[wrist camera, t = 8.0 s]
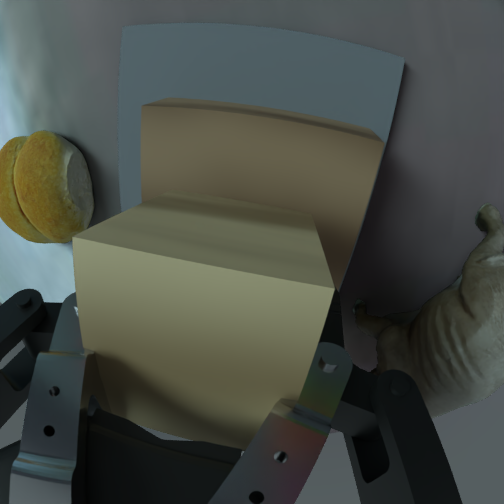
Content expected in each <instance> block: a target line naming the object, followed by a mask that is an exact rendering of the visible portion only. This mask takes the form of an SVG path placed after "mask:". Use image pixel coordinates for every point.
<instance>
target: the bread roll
mask: <svg viewBox="0 0 504 504" xmlns="http://www.w3.org/2000/svg"><path fill="white" fill-rule="evenodd" d="M93 210H94V198H93V192H92V182H91V178H90V173H89V170H88V167H87V164H86V161H85V158H84V156H83V154H82V153H81V152H80V150H79V149H78V148H77V147H75V146H74V145H73V144H71V143H70V142H68V141H67V140H66V139H64V138H63V137H62V136H60V135H59V134H56V133H53V132H50V131H38V132H35V133H33V134H32V135H30V136H20V137H15V138H13V139H11V140H9V141H8V142H7V143H6V144H5V145H4V146H3V148H2V149H1V151H0V217H1V219H2V220H3V221H4V223H5V224H6V225H7V226H8V227H9V228H10V229H12V230H13V231H14V232H16V233H17V234H19V235H20V236H21V237H23V238H25V239H26V240H28V241H32V242H36V243H67V242H69V241H71V240H72V237H73V236H75V235H77V234H79V233H80V232H82V231H84V230H86V229H87V228H88V226H89V223H90V221H91V218H92V214H93Z"/></svg>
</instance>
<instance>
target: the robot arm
mask: <svg viewBox="0 0 504 504" xmlns="http://www.w3.org/2000/svg"><path fill="white" fill-rule="evenodd" d="M334 287H335V286H334ZM21 340H22V341H23V343H24V345H25V348H23V349H22V350H21V351H20V352H19V353H18V354H17V355H16V356H15V357H14V358H13V359H12V360H11V361H10V362H9V363H8V364H7V365H6V366H5V367H4V368H3V369H1V370H0V428H1V427H2V426H3V425H4V424H5V423H6V422H7V420H8V419H9V418H10V417H11V416H12V415H13V414H14V413H15V412H16V410H17V409H18V408H19V407H20V406H21V405H22V404H23V403H24V402H25V401H26V400H27V399H28V400H27V405H26V411H25V417H24V423H23V430H22V437H21V440H19V441H17V442H14V443H12V444H10V445H8V446H6V447H4V448H2V449H0V504H294V503H295V501H296V499H297V498H298V496H299V494H300V492H301V490H302V488H303V486H304V485H305V483H306V481H307V479H308V477H309V475H310V473H311V471H312V469H313V467H314V465H315V463H316V461H317V459H318V456H319V454H320V452H321V450H322V448H323V446H324V444H325V442H326V439H327V437H328V435H329V433H330V430H331V428H333V429H335V430H338V431H340V432H343V434H344V438H345V442H346V446H347V450H348V454H349V457H350V461H351V465H352V468H353V473H354V477H355V481H356V485H357V489H358V493H359V497H360V501H361V504H462V501H461V498H460V495H459V492H458V489H457V486H456V483H455V480H454V477H453V474H452V471H451V468H450V465H449V463H448V460H447V457H446V455H445V452H444V449H443V447H442V444H441V441H440V439H439V436H438V434H437V431H436V429H435V426H434V424H433V421H432V419H431V416H430V414H429V412H428V409H427V407H426V404H425V402H424V400H423V398H422V395H421V393H420V391H419V388H418V386H417V384H416V382H415V381H414V379H413V378H412V377H411V376H410V375H408V374H407V373H405V372H403V371H400V370H395V369H391V370H387V371H384V372H383V373H382V374H381V375H380V376H377V375H375V374H372V373H370V372H367V371H365V370H363V369H360V368H359V367H357V366H356V365H354V364H353V363H352V359H351V357H350V355H349V354H348V352H347V351H346V350H345V349H344V340H343V328H342V316H341V306H340V296H339V292H338V290H337V289H336V287H335V290H334V293H333V297H332V300H331V304H330V307H329V310H328V314H327V317H326V320H325V323H324V327H323V330H322V333H321V336H320V339H319V342H318V345H317V348H316V351H315V354H314V357H313V360H312V363H311V366H310V369H309V372H308V375H307V377H306V380H305V383H304V386H303V388H302V391H301V394H300V397H299V399H298V400H290V399H284V398H280V400H279V401H277V402H276V403H275V405H274V406H273V408H272V409H271V411H270V413H269V414H268V416H267V418H266V419H265V421H264V422H263V424H262V425H261V427H260V429H259V430H258V432H257V433H256V435H255V436H254V438H253V439H252V441H251V443H250V444H249V446H248V447H247V449H246V450H245V452H244V453H243V455H242V456H241V452H242V449H239V448H234V447H229V446H224V445H219V444H214V443H210V442H205V441H177V440H163V439H160V438H158V437H156V436H155V435H153V434H151V433H149V432H148V431H146V430H145V429H143V428H141V427H140V426H138V425H136V424H135V423H133V422H132V421H130V420H129V419H126V418H123V417H120V416H117V415H115V414H112V412H111V409H110V406H109V402H108V399H107V396H106V393H105V389H104V386H103V382H102V380H101V377H100V374H99V368H98V364H97V360H96V356H95V352H94V351H92V350H89V349H86V348H84V347H83V343H82V336H81V330H80V323H79V315H78V307H77V298H76V292H75V293H72V294H71V295H69V296H68V297H67V298H66V299H65V300H64V302H63V303H50V302H44V301H43V298H42V296H41V294H40V292H38V291H37V290H34V289H24V290H21V291H19V292H17V293H16V294H14V295H13V296H12V297H10V298H9V299H8V300H7V301H6V302H4V303H3V304H2V305H1V306H0V361H1V360H2V358H3V357H4V356H5V355H6V354H7V353H8V352H9V351H10V350H11V349H13V348H14V347H15V346H16V345H17V344H18V343H19V342H20V341H21Z"/></svg>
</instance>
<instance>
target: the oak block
mask: <svg viewBox="0 0 504 504" xmlns="http://www.w3.org/2000/svg"><path fill="white" fill-rule="evenodd" d="M72 241H73V262H74V276H75V288H76V298H77V307H78V315H79V323H80V330H81V336H82V343H83V347H84V348H86V349H89V350H92V351H94V352H95V356H96V360H97V364H98V368H99V374H100V377H101V380H102V382H103V386H104V389H105V393H106V396H107V399H108V402H109V406H110V409H111V412H112V414H115V415H117V416H120V417H123V418H126V419H129V420H130V421H132V422H133V423H135V424H138V425H141V426H144V427H147V428H150V429H154V430H157V431H160V432H163V433H167V434H171V435H174V436H178V437H182V438H185V439H189V440H193V441H205V442H210V443H214V444H219V445H224V446H229V447H234V448H239V449H242V451H245V450H246V449H247V447H248V446H249V444H250V443H251V441H252V439H253V438H254V436H255V435H256V433H257V432H258V430H259V429H260V427H261V425H262V424H263V422H264V421H265V419H266V418H267V416H268V414H269V413H270V411H271V409H272V408H273V406H274V405H275V403H276V402H277V401H279V400H280V398H284V399H290V400H298V399H299V397H300V394H301V391H302V388H303V386H304V383H305V380H306V377H307V375H308V372H309V369H310V366H311V363H312V360H313V357H314V354H315V351H316V348H317V345H318V342H319V339H320V336H321V333H322V330H323V327H324V323H325V320H326V317H327V314H328V310H329V307H330V304H331V300H332V297H333V293H334V290H335V287H334V284H333V281H332V277H331V274H330V271H329V267H328V264H327V261H326V258H325V255H324V251H323V248H322V245H321V242H320V239H319V236H318V233H317V230H316V227H315V224H314V221H313V218H312V215H311V214H310V213H305V212H300V211H295V210H290V209H284V208H279V207H274V206H268V205H263V204H257V203H251V202H246V201H240V200H234V199H228V198H222V197H216V196H210V195H204V194H197V193H191V192H184V191H178V190H171V191H169V192H166V193H164V194H162V195H159V196H157V197H155V198H152V199H150V200H148V201H146V202H143V203H141V204H139V205H137V206H135V207H132V208H130V209H128V210H126V211H124V212H122V213H119V214H117V215H115V216H113V217H111V218H109V219H107V220H105V221H103V222H101V223H99V224H97V225H94V226H92V227H90V228H88V229H86V230H84V231H82V232H80V233H79V234H77V235H75V236H73V237H72Z"/></svg>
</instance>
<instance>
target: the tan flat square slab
mask: <svg viewBox="0 0 504 504" xmlns="http://www.w3.org/2000/svg"><path fill="white" fill-rule="evenodd" d="M384 144H385V143H384V142H383V141H382V140H381V139H380V138H379V137H378V136H377V135H376V134H375V133H374V132H373V131H372V130H371V129H369V128H366V127H362V126H358V125H354V124H350V123H345V122H341V121H337V120H332V119H328V118H323V117H318V116H314V115H309V114H303V113H298V112H293V111H287V110H281V109H275V108H269V107H262V106H255V105H247V104H240V103H231V102H222V101H212V100H201V99H187V98H170V97H168V98H165V99H161V100H158V101H155V102H152V103H148V104H145V105H142V106H141V198H142V203H143V202H146V201H148V200H150V199H152V198H155V197H157V196H159V195H162V194H164V193H166V192H169V191H171V190H178V191H184V192H191V193H197V194H204V195H210V196H216V197H222V198H228V199H234V200H240V201H246V202H251V203H257V204H263V205H268V206H274V207H279V208H284V209H290V210H295V211H300V212H305V213H310V214H311V215H312V218H313V221H314V224H315V227H316V230H317V233H318V236H319V239H320V242H321V245H322V248H323V251H324V255H325V258H326V261H327V264H328V267H329V271H330V274H331V277H332V281H333V284H334V286H335V287H336V289H337V290H339V287H340V284H341V282H342V279H343V276H344V273H345V271H346V268H347V265H348V262H349V259H350V257H351V254H352V251H353V248H354V245H355V242H356V239H357V236H358V233H359V230H360V227H361V224H362V221H363V217H364V214H365V211H366V208H367V205H368V201H369V198H370V195H371V191H372V188H373V185H374V181H375V178H376V174H377V170H378V167H379V163H380V160H381V156H382V152H383V148H384Z"/></svg>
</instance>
